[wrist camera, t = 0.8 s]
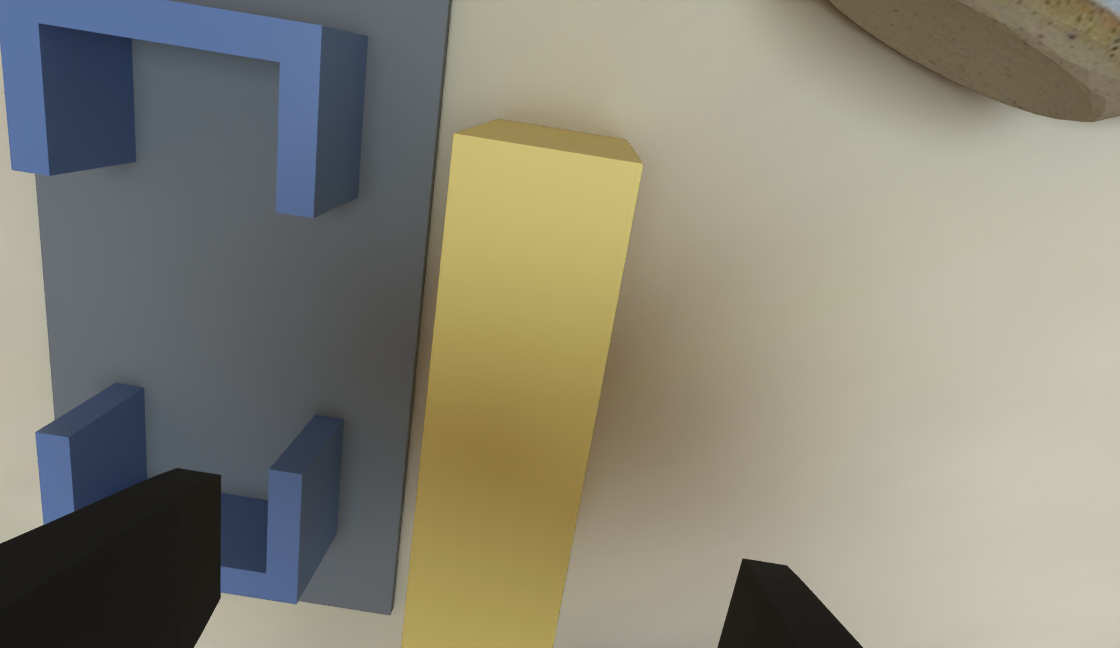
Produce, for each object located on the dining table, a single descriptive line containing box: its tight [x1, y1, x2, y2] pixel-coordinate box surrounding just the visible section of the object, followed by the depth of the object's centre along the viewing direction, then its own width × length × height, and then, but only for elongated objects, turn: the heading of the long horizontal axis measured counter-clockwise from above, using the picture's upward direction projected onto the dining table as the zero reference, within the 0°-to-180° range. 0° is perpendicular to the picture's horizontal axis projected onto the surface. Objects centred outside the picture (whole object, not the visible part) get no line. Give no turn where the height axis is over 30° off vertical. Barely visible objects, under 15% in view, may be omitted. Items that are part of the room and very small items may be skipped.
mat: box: [35, 0, 452, 615], centre depth 19 cm, size 19×10×1 cm, turn 171°
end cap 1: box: [0, 0, 368, 218], centre depth 16 cm, size 4×6×3 cm, turn 81°
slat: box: [401, 119, 643, 648], centre depth 17 cm, size 11×3×6 cm, turn 171°
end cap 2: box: [35, 383, 344, 604], centre depth 19 cm, size 4×6×3 cm, turn 81°
